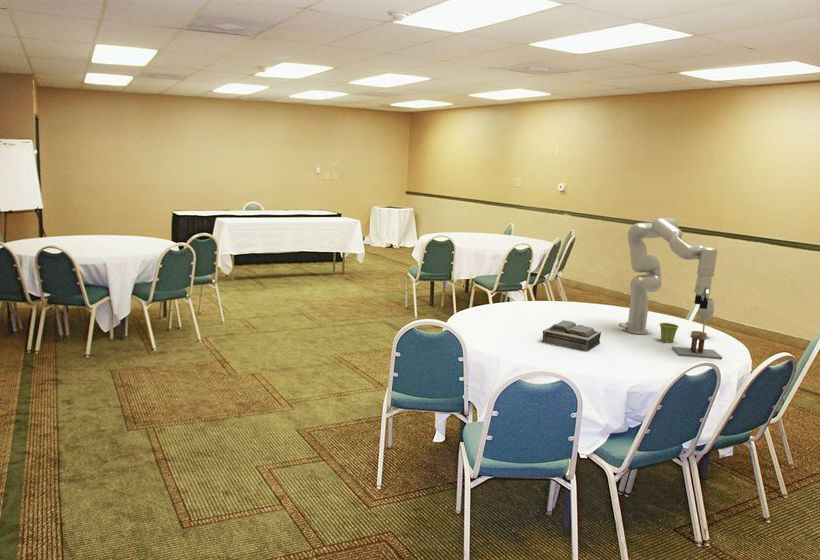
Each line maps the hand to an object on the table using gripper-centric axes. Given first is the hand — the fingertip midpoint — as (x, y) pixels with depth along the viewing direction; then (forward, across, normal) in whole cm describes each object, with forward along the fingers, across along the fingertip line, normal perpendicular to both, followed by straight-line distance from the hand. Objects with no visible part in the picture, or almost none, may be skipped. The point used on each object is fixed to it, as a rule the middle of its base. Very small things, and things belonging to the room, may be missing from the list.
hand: (700, 306), depth 324 cm
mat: (+23, +5, 0) cm, 23 cm away
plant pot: (+24, -16, -9) cm, 30 cm away
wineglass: (+24, -32, +12) cm, 41 cm away
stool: (+22, +4, 0) cm, 22 cm away
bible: (+24, +5, -60) cm, 65 cm away
